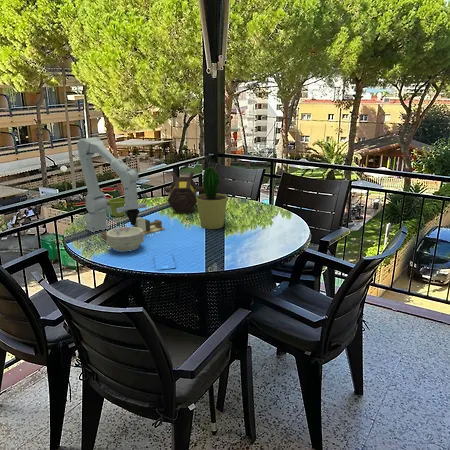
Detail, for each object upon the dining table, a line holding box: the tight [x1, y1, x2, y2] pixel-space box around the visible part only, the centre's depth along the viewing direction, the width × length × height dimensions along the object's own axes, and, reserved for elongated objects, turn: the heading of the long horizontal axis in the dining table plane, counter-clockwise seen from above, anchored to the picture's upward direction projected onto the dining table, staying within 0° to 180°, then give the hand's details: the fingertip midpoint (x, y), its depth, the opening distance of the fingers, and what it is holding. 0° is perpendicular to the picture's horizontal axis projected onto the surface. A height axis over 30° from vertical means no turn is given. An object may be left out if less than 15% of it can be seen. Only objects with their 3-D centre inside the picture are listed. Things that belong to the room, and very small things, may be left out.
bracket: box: [144, 218, 151, 231], centre depth 200 cm, size 2×4×4 cm, turn 41°
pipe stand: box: [101, 219, 166, 241], centre depth 196 cm, size 30×8×4 cm, turn 131°
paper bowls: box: [106, 226, 145, 252], centre depth 177 cm, size 15×15×8 cm
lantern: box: [163, 171, 204, 214], centre depth 239 cm, size 21×23×30 cm
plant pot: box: [107, 197, 125, 218], centre depth 226 cm, size 9×9×9 cm
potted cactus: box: [196, 166, 228, 230], centre depth 204 cm, size 15×15×30 cm
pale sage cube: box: [132, 217, 146, 232], centre depth 197 cm, size 4×5×6 cm
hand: (133, 224), depth 195 cm, fingers closed
